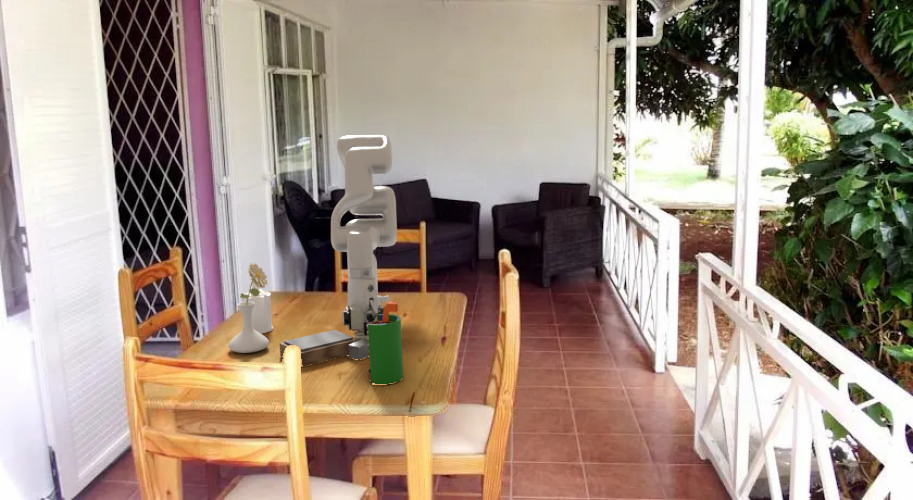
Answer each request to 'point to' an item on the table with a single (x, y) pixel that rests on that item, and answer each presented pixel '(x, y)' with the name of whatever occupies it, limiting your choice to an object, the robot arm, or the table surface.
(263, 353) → the table surface
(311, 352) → the stand
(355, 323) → the pneumatic valve
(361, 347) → the grey rectangular block
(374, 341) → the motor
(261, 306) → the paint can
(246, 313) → the flower in vase
